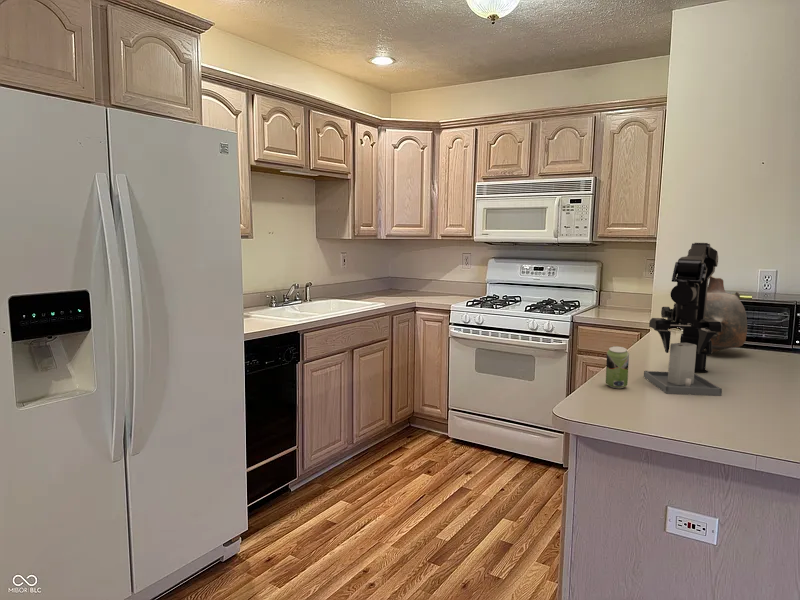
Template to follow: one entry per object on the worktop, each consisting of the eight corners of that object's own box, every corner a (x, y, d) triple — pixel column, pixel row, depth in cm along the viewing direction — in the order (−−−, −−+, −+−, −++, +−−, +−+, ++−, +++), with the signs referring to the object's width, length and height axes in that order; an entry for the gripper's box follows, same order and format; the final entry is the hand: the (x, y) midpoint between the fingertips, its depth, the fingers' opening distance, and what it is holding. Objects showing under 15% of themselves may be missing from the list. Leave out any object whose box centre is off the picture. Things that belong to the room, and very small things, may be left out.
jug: (760, 360, 197) (768, 279, 194) (701, 359, 198) (708, 278, 194) (721, 346, 222) (728, 274, 218) (669, 345, 222) (674, 273, 218)
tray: (692, 378, 170) (693, 368, 170) (721, 395, 152) (722, 383, 152) (643, 377, 171) (644, 366, 171) (666, 393, 154) (667, 381, 153)
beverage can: (626, 384, 162) (629, 345, 161) (628, 391, 155) (631, 350, 154) (604, 382, 164) (606, 344, 163) (605, 389, 157) (607, 348, 156)
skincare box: (682, 380, 165) (685, 341, 163) (694, 384, 161) (697, 344, 159) (666, 382, 163) (669, 342, 162) (678, 386, 159) (681, 345, 157)
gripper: (706, 298, 166) (702, 348, 168) (644, 297, 167) (640, 346, 169) (725, 303, 155) (720, 356, 157) (658, 301, 156) (654, 354, 158)
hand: (682, 353), depth 161 cm, fingers open, 9 cm apart
